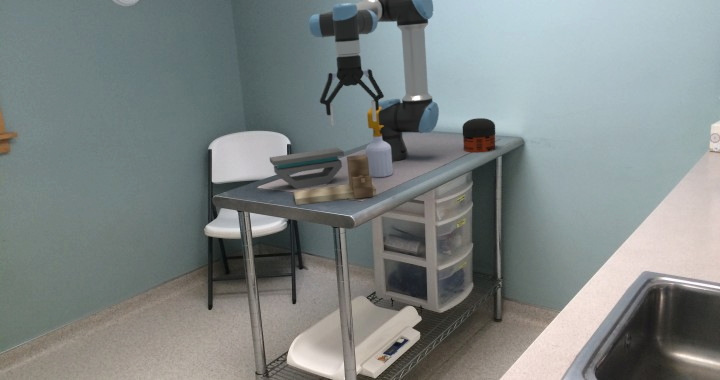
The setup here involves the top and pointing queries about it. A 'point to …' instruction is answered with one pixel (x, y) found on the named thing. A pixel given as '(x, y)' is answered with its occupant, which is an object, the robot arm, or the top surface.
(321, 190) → the board
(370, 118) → the soap bottle
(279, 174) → the grey slotted trapezoid block
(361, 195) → the notched wooden block
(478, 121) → the oil filter
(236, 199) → the top surface
